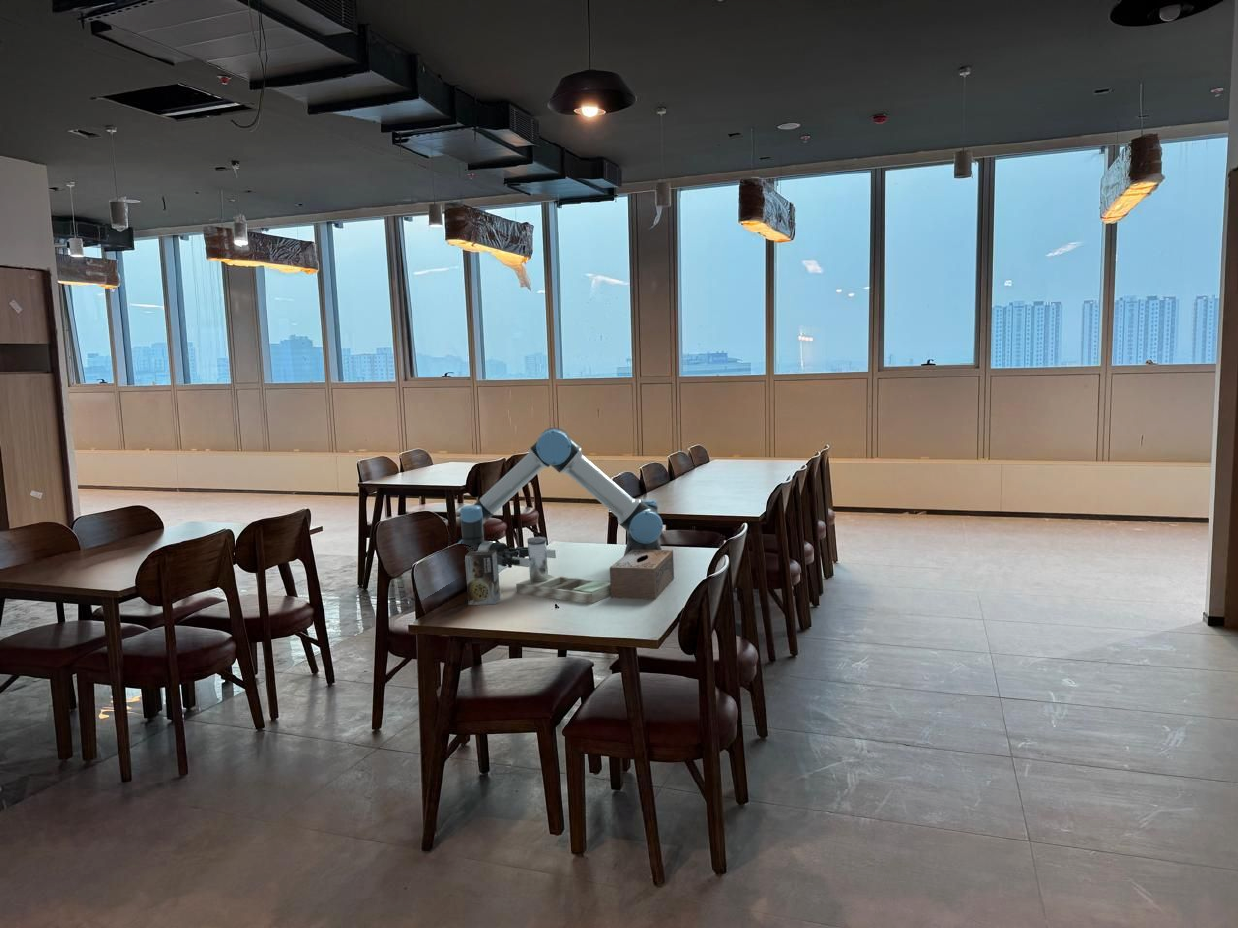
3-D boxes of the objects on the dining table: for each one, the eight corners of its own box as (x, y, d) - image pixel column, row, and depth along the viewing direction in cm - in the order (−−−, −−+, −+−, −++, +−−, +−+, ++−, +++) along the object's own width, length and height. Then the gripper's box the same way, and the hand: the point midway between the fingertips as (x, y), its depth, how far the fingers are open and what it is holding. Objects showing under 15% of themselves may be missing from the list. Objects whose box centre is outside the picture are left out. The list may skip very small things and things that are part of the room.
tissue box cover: (633, 578, 282) (632, 549, 281) (674, 579, 278) (673, 550, 277) (611, 598, 258) (609, 567, 257) (655, 600, 254) (654, 568, 253)
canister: (549, 577, 275) (547, 536, 273) (547, 582, 269) (545, 540, 267) (531, 578, 275) (528, 537, 274) (528, 582, 269) (526, 540, 267)
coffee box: (501, 599, 262) (498, 549, 260) (496, 604, 256) (492, 554, 254) (473, 599, 263) (469, 550, 261) (467, 605, 256) (464, 554, 255)
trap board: (516, 592, 269) (515, 582, 268) (543, 582, 280) (543, 573, 280) (590, 603, 252) (589, 592, 252) (616, 592, 263) (615, 582, 263)
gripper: (518, 556, 293) (565, 561, 281) (469, 571, 272) (517, 578, 260) (517, 535, 292) (564, 539, 280) (467, 549, 271) (515, 555, 259)
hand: (542, 558), depth 270 cm, fingers open, 13 cm apart
